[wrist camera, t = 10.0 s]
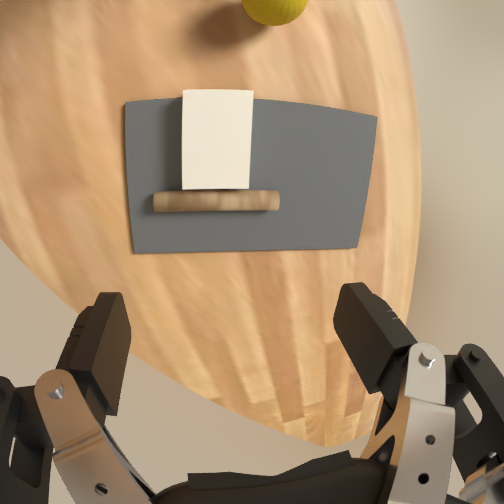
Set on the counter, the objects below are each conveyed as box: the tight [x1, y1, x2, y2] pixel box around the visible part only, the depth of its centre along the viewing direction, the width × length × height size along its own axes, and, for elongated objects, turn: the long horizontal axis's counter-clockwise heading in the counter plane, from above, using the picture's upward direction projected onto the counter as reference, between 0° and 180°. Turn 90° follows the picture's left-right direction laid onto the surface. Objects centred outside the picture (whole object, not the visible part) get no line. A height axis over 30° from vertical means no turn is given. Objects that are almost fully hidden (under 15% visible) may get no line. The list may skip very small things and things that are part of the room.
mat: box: [125, 98, 377, 254], centre depth 28 cm, size 16×26×1 cm, turn 87°
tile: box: [182, 89, 254, 190], centre depth 24 cm, size 2×6×9 cm
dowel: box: [153, 190, 280, 212], centre depth 27 cm, size 2×12×2 cm, turn 87°
